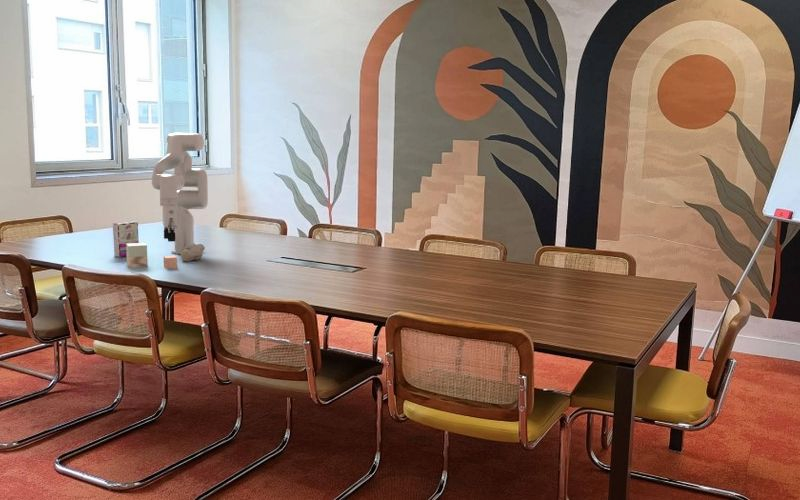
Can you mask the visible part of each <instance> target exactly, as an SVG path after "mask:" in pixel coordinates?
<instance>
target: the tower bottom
mask: <svg viewBox="0 0 800 500" xmlns="http://www.w3.org/2000/svg"><path fill="white" fill-rule="evenodd" d="M148 263H149V261H148V255H147V256H140V257H128V255H127V256H126V265H127V267H128V268H142V267H141V266H148Z"/></svg>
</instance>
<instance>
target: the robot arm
mask: <svg viewBox="0 0 800 500" xmlns="http://www.w3.org/2000/svg"><path fill="white" fill-rule="evenodd" d="M166 142H167V145H166V153H165V156H164V157H163V158H161V159H160V160H159V161H158V162H156V164H155V165H154V167H153V171H152V175H151V185H152V187H153V189H155V190H157V191H158V190H159V204H160V205H159V206H161V207H162V224H163V239H164V240H166V239H167V242H168V243H169V242H170V243H171V242H174V249H172V250H171V253H172V254H174V255H175V254H176V255H181V252H182V251H183V250H184V248H185V247H187V246H189V245H197V244H198V243H195V235H194V234H195V233H194V232H195V230H194V229H195V228H194V222H195V221H194V216H193V215H192V213H191V212H190V211H189V210H203V209H204V210H205V209H206V208H207V207H208V204H209V202H208V200H209V198H208V196H209V195H208V173H207V171H206V170H205V169H204V168H193V158H192V156H191V155H190V153H189V152H200V151H201V150H202V149H203V147H204V143H205V142H204V137H203V135H202V134H201V133H194V132H173V133H169V134H168V135H167V137H166ZM172 169H174V171H173V172H174V173H170V172H169V173H167V172H166V171H169V170H172ZM183 188H197V189H196V190H195V189H194V190H193V189H192V190H191V189H183ZM201 244H202V245H203V246H204V244H203V243H201ZM204 247H205V246H204Z"/></svg>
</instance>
